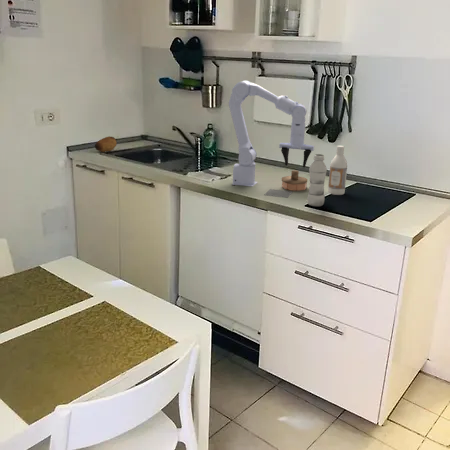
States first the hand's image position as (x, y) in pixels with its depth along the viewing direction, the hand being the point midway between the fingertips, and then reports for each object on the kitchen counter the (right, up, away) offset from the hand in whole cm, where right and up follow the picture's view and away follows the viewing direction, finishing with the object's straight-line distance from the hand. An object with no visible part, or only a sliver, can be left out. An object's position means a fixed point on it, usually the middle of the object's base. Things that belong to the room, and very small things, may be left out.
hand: (295, 165), depth 225 cm
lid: (0, -6, +1) cm, 6 cm away
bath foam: (+17, -12, -2) cm, 21 cm away
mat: (-8, -12, -6) cm, 16 cm away
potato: (-96, +15, +66) cm, 117 cm away
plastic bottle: (+5, -18, -20) cm, 28 cm away
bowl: (0, -9, +3) cm, 10 cm away
